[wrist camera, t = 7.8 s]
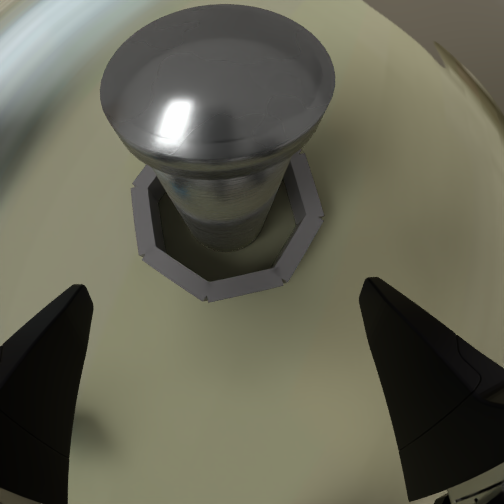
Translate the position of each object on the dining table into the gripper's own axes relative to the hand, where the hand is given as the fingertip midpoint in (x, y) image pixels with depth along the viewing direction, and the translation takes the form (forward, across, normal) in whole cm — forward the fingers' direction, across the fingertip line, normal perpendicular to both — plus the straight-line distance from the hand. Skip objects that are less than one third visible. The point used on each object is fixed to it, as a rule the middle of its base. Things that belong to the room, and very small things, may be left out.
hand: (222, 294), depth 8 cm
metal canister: (+10, 0, +2) cm, 10 cm away
